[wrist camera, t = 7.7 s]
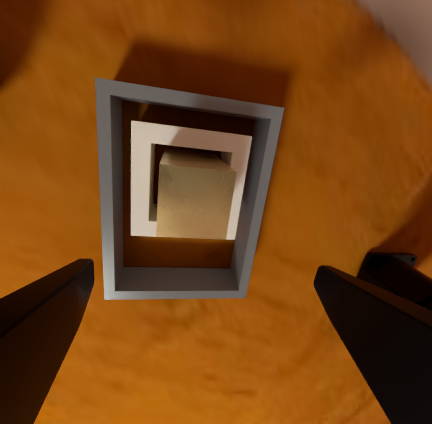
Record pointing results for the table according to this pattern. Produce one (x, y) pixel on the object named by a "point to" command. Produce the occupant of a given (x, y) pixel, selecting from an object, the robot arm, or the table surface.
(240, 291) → the walled frame
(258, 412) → the table surface
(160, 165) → the peg
